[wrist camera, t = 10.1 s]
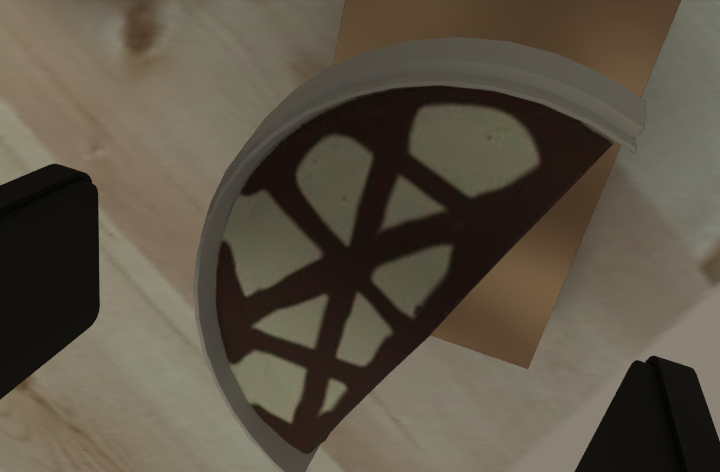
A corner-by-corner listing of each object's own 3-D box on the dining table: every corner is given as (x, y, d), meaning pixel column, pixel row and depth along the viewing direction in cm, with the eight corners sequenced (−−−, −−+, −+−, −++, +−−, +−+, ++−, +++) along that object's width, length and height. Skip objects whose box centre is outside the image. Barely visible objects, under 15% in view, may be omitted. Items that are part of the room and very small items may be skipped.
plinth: (396, -70, 23) (360, -82, 19) (658, -12, 22) (684, -10, 17) (332, 241, 30) (293, 287, 25) (532, 307, 28) (528, 369, 23)
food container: (454, -70, 18) (361, -115, 10) (611, 54, 18) (663, 124, 10) (264, 214, 24) (97, 348, 15) (384, 308, 24) (286, 496, 15)
